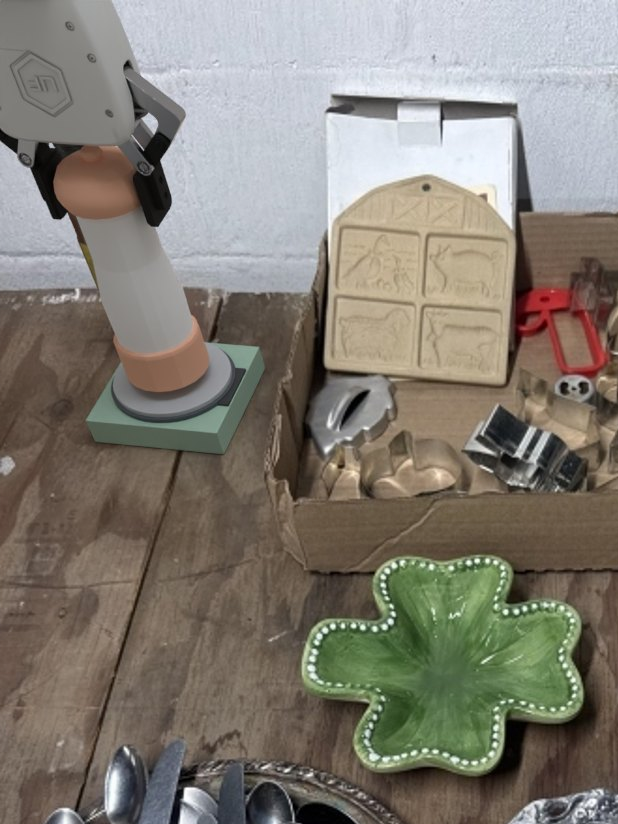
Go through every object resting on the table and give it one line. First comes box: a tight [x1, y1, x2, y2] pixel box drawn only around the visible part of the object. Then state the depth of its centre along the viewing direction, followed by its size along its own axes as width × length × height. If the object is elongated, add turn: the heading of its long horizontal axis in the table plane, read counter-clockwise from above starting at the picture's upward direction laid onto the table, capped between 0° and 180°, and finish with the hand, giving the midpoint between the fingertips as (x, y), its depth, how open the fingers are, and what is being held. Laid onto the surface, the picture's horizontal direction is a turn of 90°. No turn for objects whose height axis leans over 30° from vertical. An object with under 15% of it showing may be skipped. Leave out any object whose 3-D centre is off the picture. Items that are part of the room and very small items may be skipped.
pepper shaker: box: [53, 145, 209, 392], centre depth 86 cm, size 7×7×19 cm
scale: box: [85, 341, 266, 455], centre depth 96 cm, size 12×12×3 cm
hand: (112, 212), depth 83 cm, fingers closed on pepper shaker, 7 cm apart
